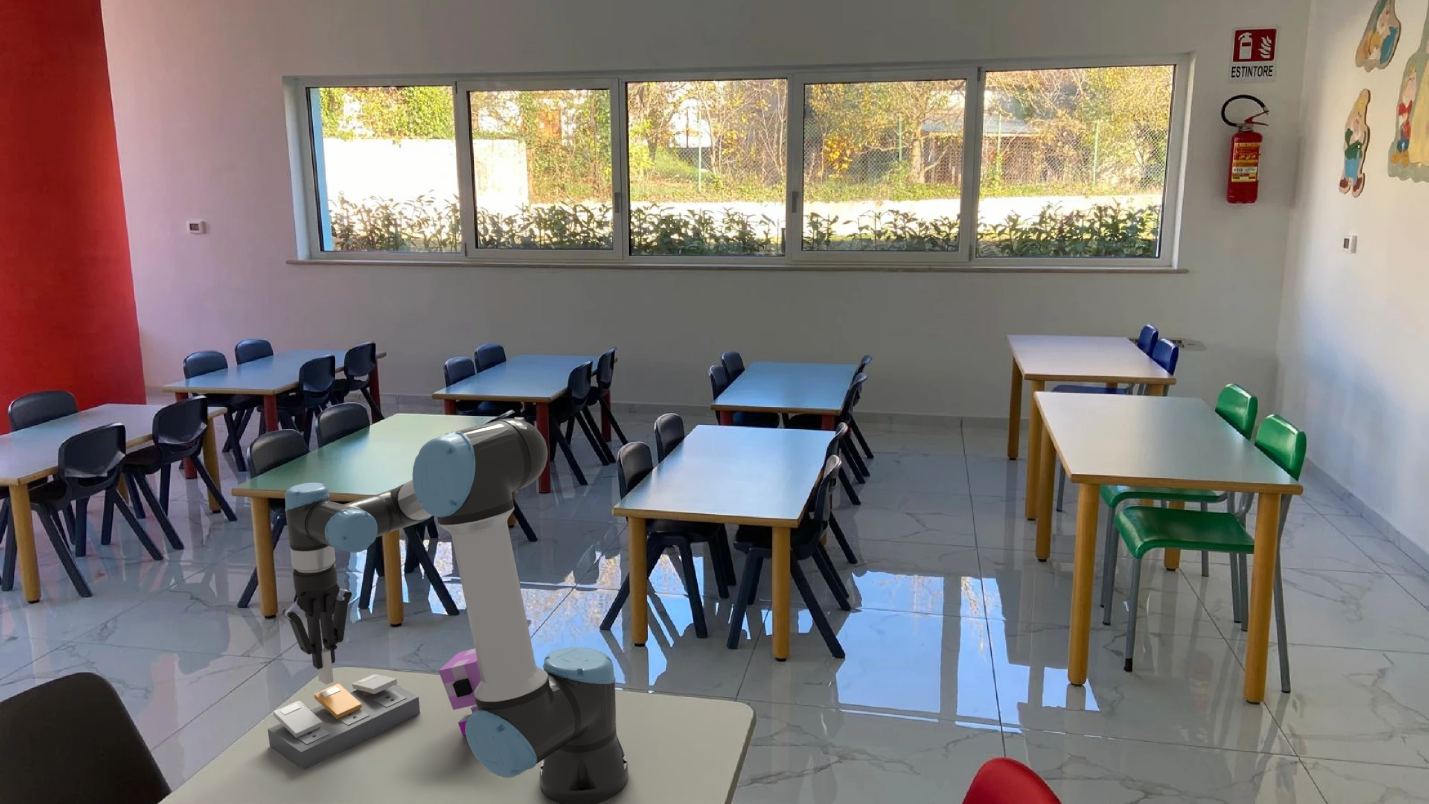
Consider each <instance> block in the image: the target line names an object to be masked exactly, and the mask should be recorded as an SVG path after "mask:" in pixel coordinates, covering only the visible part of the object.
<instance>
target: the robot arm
mask: <svg viewBox="0 0 1429 804" xmlns="http://www.w3.org/2000/svg"><path fill="white" fill-rule="evenodd" d="M548 454H549V453H548V447H547V443H546V440H545V438H544V437H543V435H542V433H541V432H540V431H539V429H537V427H535V426H534V425H532V424H531V423H529V422H527V421H525V420H522V419H518V418H502V419H497V420H493V421H491V422H487V423H483V424H480V425H476V426H475V425H474V426H471V427H468V428H464V429H460V430H456V431H451V432H446V433H445V434H444V435H440V436H437V437H435V438H431V439H430V440H428V441H427V442H426V443H424V445H422V446H421V448H420V449H419V452H418V454H417V455H416V456H415V460H414V462H413V465H412V466H413V467H412V474H411V475H412V480H409V481H407V482H405V483H403V484H400V485H398V486H397V487H395V488H393V489H389V490H386V491H384V492H380V493H378V494H373V495H370V496H367V497H364V498H360V499H357V500H353V501H351V502H347V503H344V504H343V503H338V502H336V501H332V500H330V498H331V495H330V492H329V488H328V486H327V485H326V484H324V483H321V482H304V483H303V482H302V483H300V484H295V485H293V486H290V487H289V488H288V489H286V491H285V493H284V500H285V501H284V502H285V509H284V511H285V516H286V526H287V527H286V528H287V532H288V533H287V534H288V541H289V551H290V559H291V567H292V568H293V569H292V578H293V579H292V580H293V586H294V591H295V592H294V593H295V595H294V597H293V603H292V605H291V606H290V607H289V608H284V609H283V610H282V614H283V616H284V617H286V618H287V619H288V621H289V623H290V626H291V628H292V631H293V633H294V636H295V638H296V641H297V643H298V647H299V648H300V650H301V651H302V652H303V653H306V654H307V655H311V658H312V659H311V660H312V667H313V668H314V669H317V676H318V681H319V682H321V683H323V684H324V685H325V686H326V685H328V684H329V685H330V684H331V683H333V682H334V673H333V664H335V662H336V652H335V651H336V650H337V648H338V645H337V644H338V643H342V642H343V641H344V639H345V638H344V637H345V629H346V622H347V615H348V607H349V603H350V601H351V599H352V595H353V592H351V591H350V590H348V589H345V588H340V585H339V584H338V573H337V565H336V563H335V562H336V554H335V549H336V550H337V551H338V550H339V551H341V552H343V551H344V552H348V553H355V554H356V553H361V552H363V551H366V550H367V549H368V548H369V547H370V546H371V545H372V544H373V543H374V542H375V540H376V538H378V537H381V536H384V535H387V534H389V533H391V532H395V531H398V530H400V529H404V528H407V527H410V526H413V525H417V524H419V523H423V522H424V521H426V520H428V519H430V518H432V517H436V519H437V523H438V527H440V528H442V529H444V530H446V531H447V532H449V534H450V536H451V540H452V545H453V550H454V555H455V559H456V564H457V569H458V573H459V579H460V582H461V583H460V585H461V588H462V593H463V597H464V602H465V608H466V613H467V617H468V622H469V625H470V626H469V627H470V630H471V636H472V640H473V641H472V642H473V645H474V649H475V651H476V656H477V661H478V665H479V670H480V675H481V681H480V683H479V684H478V686H477V687H476V689H475V691H474V695H475V701H476V706H477V711H475V712H474V713H472V712H471V716H470V717H469V718H468V720H467V723H466V726H465V733H466V735H465V738H466V740H467V743H468V745H469V748H470V750H471V752H472V754H473V755H474V757H475V758H476V759H477V760H478V762H479V763H480V764H482V766H483V767H484V768H485V769H487V771H489V772H491V773H492V774H494V775H496V776H498V777H501V778H505V779H506V778H509V779H511V778H514V777H517V776H520V775H521V774H523V773H525V772H526V771H528V770H532V769H534V768H535V767H536V766H537V764H539V763H540V762H541V761H542V762H541V764H540V766H539V784H540V785H539V786H540V789H541V791H542V793H543V794H544V795H545V796H546V797H548V798H549V799H550V800H553V801H555V802H557V803H561V804H596V803H600V802H603V801H605V800H607V799H608V800H609V799H610V798H611V797H614V796H615V795H617V794H618V793H619V792H621V790H623V788H624V787H625V786H626V784H627V783H628V778H629V764H628V760H627V759H628V758H627V757H626V755H625V752H624V749H623V747H622V744H621V742H620V739H619V737H618V735H617V711H616V710H617V707H616V705H617V703H616V677H615V671H614V663H613V660H612V659H611V657H609V655H607V654H606V653H604V652H602V651H601V650H597V649H593V648H588V647H575V646H574V647H563V648H560V649H557V650H554V651H551V652H550V653H548V654H547V655H546V656H545V658H544V661H543V664H542V668H543V669H542V668H541V667H539V666H538V665H537V663H536V660H535V653H534V649H533V645H532V639H531V634H530V628H529V625H528V619H527V614H526V610H525V609H526V608H525V604H524V600H523V599H524V598H523V595H522V594H523V593H522V588H521V585H520V580H519V575H518V569H517V565H516V559H515V554H514V550H513V545H512V540H511V535H510V530H509V524H508V519H509V517H510V516H511V514H512V513H513V512H514V511H515V505H514V498H513V495H512V493H513V492H517V491H519V490H522V489H523V488H526V487H527V486H529V485H530V484H532V483H534V482H535V481H536V480H537V479H538V478H539V477H540V476H541V475H542V473H543V472H544V469H545V468H546V464H547V461H548ZM333 605H334V608H333ZM333 609H334V610H333ZM300 610H302V612H304V616H305V619H306V624H307V631H306V628H305V625H304V623H303V620H302V619H301V617H300V616H301V613H300ZM307 632H308V633H307Z"/></svg>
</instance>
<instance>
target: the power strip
mask: <svg viewBox="0 0 1429 804" xmlns="http://www.w3.org/2000/svg"><path fill="white" fill-rule="evenodd" d="M349 693H350V694H351V695H352V696H354V697H355V698H356V699H357V700H358V701H359V702H360V703H362V708H360V709H358V710H356V711H354V712H352V713H349V714H347V715H345V716H343V717H341V718H339V719H337V718H335V717H334V716H333V715H332V714H331V713H330V712H329V711H328V710H327V709H326V708H325V707H323V706H322V705H321V704H320V705H319V706H317V707H315V708H312V709H309V710H310V711H311V712H312V713H313V714H315V715H316V716H317V717H318V718H319V719H320V720H321V721H322V726H321V727H319V728H317V729H315V730H312V731H310V732H308V733H306V734H304V735H301V736H299V737H297V738H296V737H295V736H294V735H293V734H292V733H291V732H290V731H288V730H287V729H286V728H285V727H284V726H283V725H282V724H281V723H280V722H279V723H278V724H276V725H273V726H271V727H269V728H267V733H268V734H267V735H268V742H269V747H270V748H272V749H274V751H276V752H277V753H279V754H280V755H281V756H283V757H285V759H287V760H289V761H290V762H291V763H292V764H294V765H296V766H297V767H298V768H300V769H301V770H304V771H305V770H306V769H309V768H310V767H312V766H315V765H317V764H318V763H321V762H323V761H325V760H327V759H328V758H331V757H333V756H335V755H337V754H339V753H341V752H343V751H346V750H348V749H349V748H351V747H353V746H355V745H357V744H359V743H361V742H364V741H366V740H369V738H372V737H374V736H376V735H378V734H380V733H382V732H385V731H386V730H388V729H390V728H392V727H394V726H397V725H399V724H400V723H402V722H405V721H407V720H410V719H411V718H413V717H414V716H417V715H419V714H421V709H420V708H421V707H420V697H419V696H418V695H417V694H415V693H413V692H411V691H409V690H407V689H405V688H403V687H402V686H401V685H400V686H399V685H398V684H396V685H393V686H391V687H389V688H387V689H385V690H382V691H380V692H378V693H376V694H372V693H369V692H365V691H361V690H357V689H354V690H353V691H350V692H349Z"/></svg>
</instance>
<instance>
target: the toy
mask: <svg viewBox="0 0 1429 804" xmlns="http://www.w3.org/2000/svg"><path fill="white" fill-rule="evenodd" d="M438 673H439V676H440V678H441V681H442V684H443V688H444V689H445V691H446V694H447V697H448V700H449V702H450V705H451V708H452V710H453V711H456V710H460V709H464V708H468V707H469V708H470V711H471V714H472V713H474V712H475V711H477V706H476V701H475V695H474V691H475V689H476V687H477V686H478V684H479V683H480V681H481V675H480V670H479V665H478V661H477V656H476V651H475V648H472V649H468V650H467V649H466V650H464V651H458V652H457V653H456V654H455V655H454V656H453V657H452V658H451V659H449V661H448V662H446V664H444V665H443V666H442V667H441V668H440V669H439V670H438ZM471 714H465V715H463V717H462V718H461V719H460V720H459V721H458V722H457V723H458V727H459V729H460V731H461V732H460V733H461V735H462V736H466V733H465V726H466V723H467V720H468V718H469V717H470V716H471Z"/></svg>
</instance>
